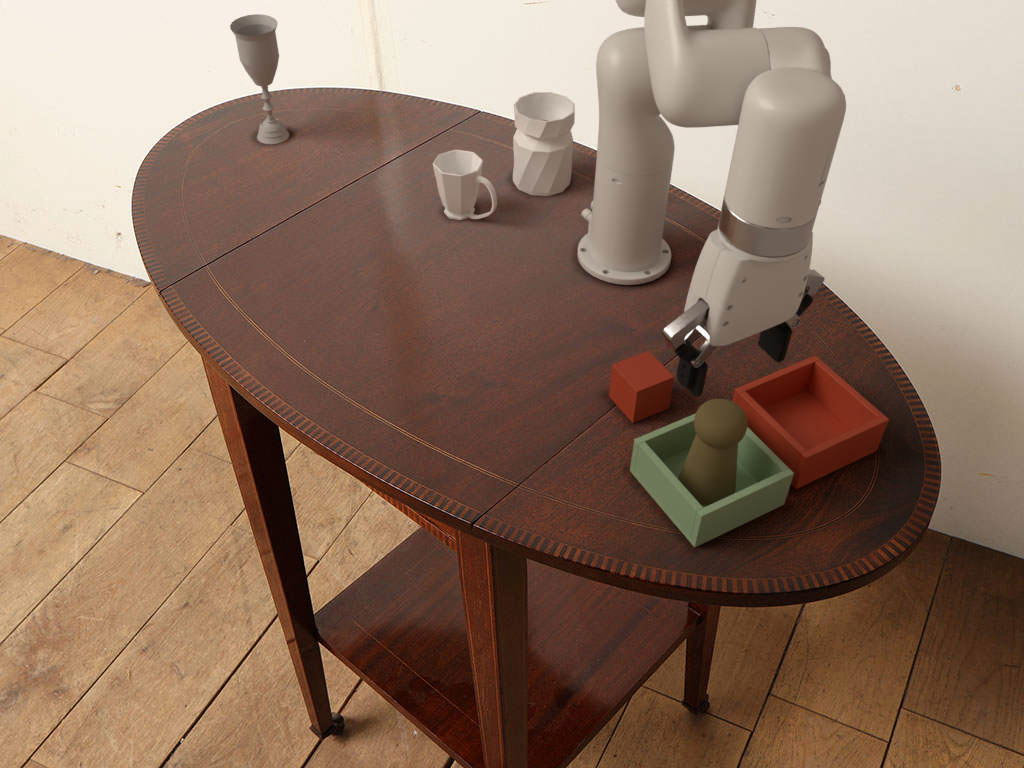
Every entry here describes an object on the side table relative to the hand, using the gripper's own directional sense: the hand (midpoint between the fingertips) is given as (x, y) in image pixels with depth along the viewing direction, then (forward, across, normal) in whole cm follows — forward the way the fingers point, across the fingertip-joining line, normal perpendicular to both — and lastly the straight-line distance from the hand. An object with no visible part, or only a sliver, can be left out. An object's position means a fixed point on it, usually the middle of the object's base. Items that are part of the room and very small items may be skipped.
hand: (730, 369), depth 93 cm
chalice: (+19, +16, -90) cm, 93 cm away
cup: (+18, -1, -56) cm, 59 cm away
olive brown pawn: (+16, 0, +1) cm, 16 cm away
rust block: (+17, -1, -13) cm, 21 cm away
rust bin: (+17, -14, 0) cm, 22 cm away
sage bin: (+16, 0, +1) cm, 17 cm away
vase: (+18, -15, -59) cm, 64 cm away
